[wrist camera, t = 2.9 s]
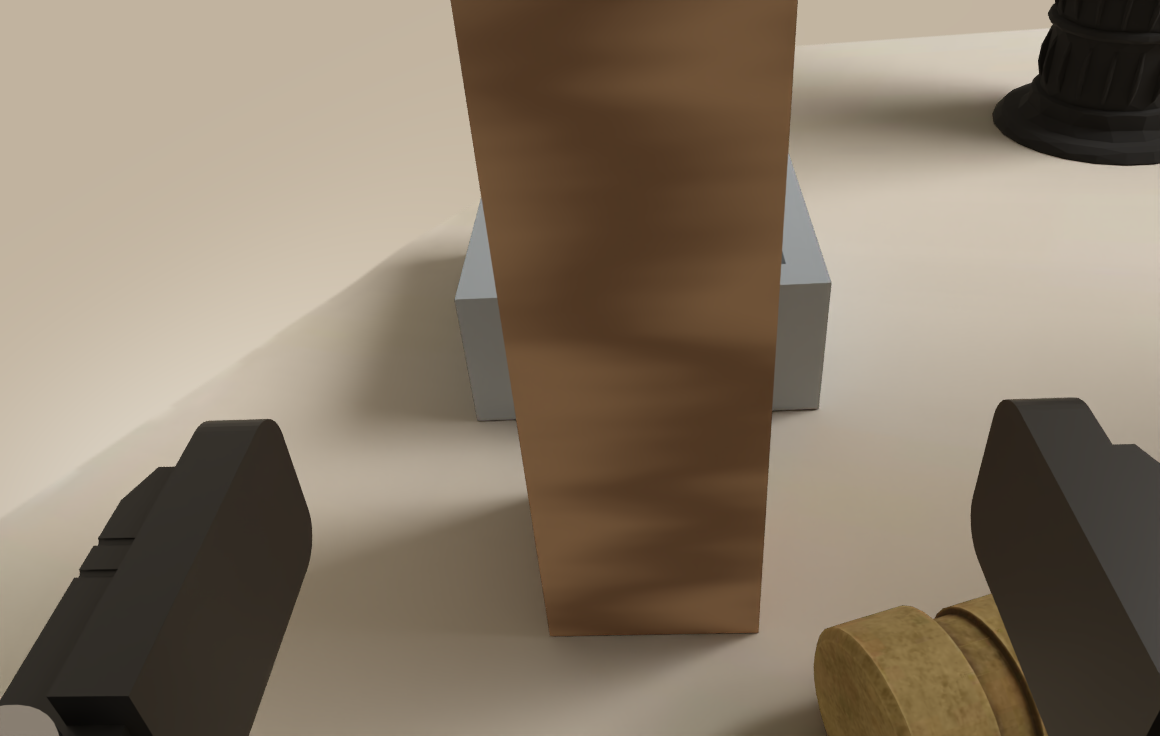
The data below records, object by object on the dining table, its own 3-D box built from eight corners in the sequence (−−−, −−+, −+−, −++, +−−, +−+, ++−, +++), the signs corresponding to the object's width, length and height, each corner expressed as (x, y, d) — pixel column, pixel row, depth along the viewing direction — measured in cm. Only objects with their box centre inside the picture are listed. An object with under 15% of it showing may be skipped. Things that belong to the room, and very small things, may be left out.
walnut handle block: (737, 484, 29) (766, -316, 17) (758, 632, 24) (816, -305, 12) (561, 489, 29) (463, -287, 17) (550, 636, 25) (408, -267, 13)
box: (774, 236, 40) (780, 127, 37) (818, 408, 31) (831, 282, 28) (510, 250, 41) (494, 144, 38) (477, 420, 32) (454, 299, 29)
